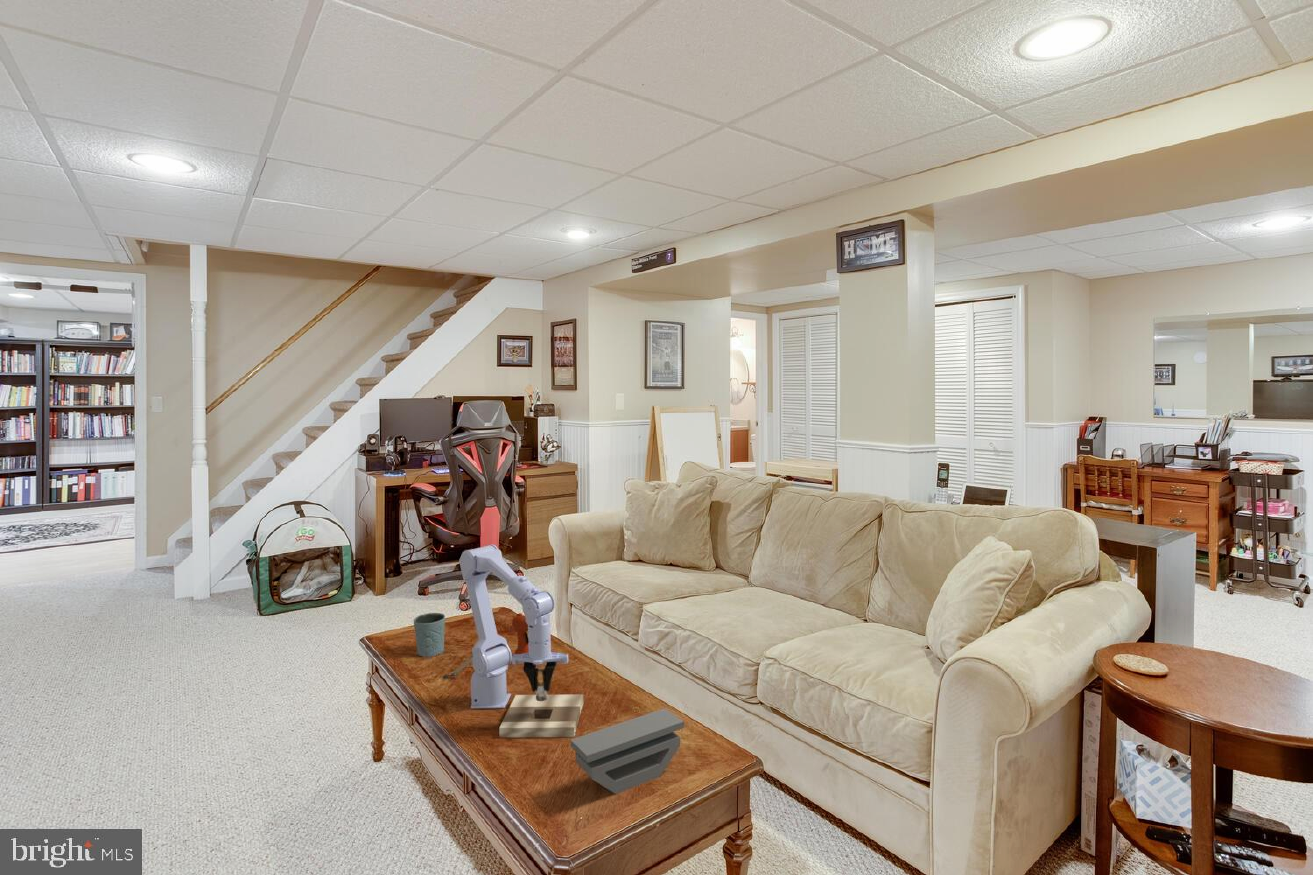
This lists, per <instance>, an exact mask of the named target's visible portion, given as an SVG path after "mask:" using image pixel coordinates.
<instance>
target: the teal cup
mask: <svg viewBox="0 0 1313 875" xmlns="http://www.w3.org/2000/svg"><path fill="white" fill-rule="evenodd" d="M445 623H446V615H445V614H443V613H440V612H430V613H423V614H419V615H418V616H416V617H415V618H414V619H413V627H414V632H415V633H414V635H415V642H416V654H417V656H418V655H419V657H420V656H423V657H422V658H432V656H433V657H436V655H437V656H439V655H438V654H440V655H442V654H443V653H444V651H445V626H446V624H445Z"/></svg>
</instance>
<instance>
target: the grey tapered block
mask: <svg viewBox="0 0 1313 875" xmlns="http://www.w3.org/2000/svg"><path fill="white" fill-rule="evenodd" d="M684 728H685V722H684V720H683V719H681V718H680V717H678V716H677V715H676V714H675V713H673V712H671V710H669V709H667V708H660V709H659V710H656V711H651V712H649V713H646V714H642V715H640V716H637V717H634V718H631V719H628V720H625V721H622V722H619V723H616V724H613V725H610V726H607V727H604V728H601V729H599V730H595V731H592V732H590V733H586V734H584V735H581V736H578V737H573V738H571V739H570V748H572V749H573V750H574V752H575V763H576V764H577V765H578V766H579V767H580V768H581V769H582V770H583V771H584V773H586V775H588V776H589V778H590V779H591V780H592V781H595V783H597V784H599V785H601V786H602V787H604V788H605V789H607V790H609V791H610V792H612V793H613V794H615V795H618V794H621V793H623V792H626V791H628V790H630V789H633V788H635V787H637V786H641V785H642V784H645V783H647V782H650V781H652V780H655V779H657V778H660V777H661V776H662V775H663V773H664V771H665V770H666V769H667V767H668V765H669V764H670V762H671V761H672V760H673V758H674V756H675V754H676V753H677V751H678V750H679V749H680V747H681V736H680V735H679V734H677V733H676V731H678V730H679V731H680V730H682V729H684Z"/></svg>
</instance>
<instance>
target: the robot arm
mask: <svg viewBox="0 0 1313 875" xmlns="http://www.w3.org/2000/svg"><path fill="white" fill-rule="evenodd" d="M458 561H459V565H460V566H459V567H460V570H461V574H462V579H463V581H465V584H466V585H465V586H466V591H467V594H468V599H469V602H470V603H469V604H470V607H471V612H472V616H473V620H474V626H475V629H476V634H477V638H478V639H477V642H476V643H475V644H474V645H473V647H472V648H471V653H472V656H473V661H471V662H472V667H473V670H474V672H473V673H472V676H471V679H470V680H471V681H470V697H471V698H470V699H471V700H470V701H471V706H470V708H471V709H505V708H506V706H507V704H508V702H509V700H510V698H511V696H512V693H508V692H507V690H508V689H507V687H508V686H507V685H508V684H507V670H508V669H509V665H510V664H511V665H517V664H523V668H522V669H523V672H524V673H525V675H526V677H527V679H528V680H529V685H530V686H531V691H532V692H536V684H535V668H537V665H541V664H545V666H544V667H545V674H546V691H547V692H550V690H551V682H552V678H553V676H554V675H553V674H554V671H555V668H556V666H557V664H563V665H568V663H569V653H561V652H554V651H553V652H552V642H551V641H552V640H551V637H552V636H551V613H552V612H553V611H554V608H555V599H554V598H553V596H552V594H551V593H550V592H549V591H547V590H543V589H538V587H537V586H535V585H534V584H533V583H532V582H531V581H530V580H529V579H528V578H527V577H526V576H525V575H518V574H516V572H515V571H514V570H513V569H512V568H511V567H510V566H509V565H508V564H507V562H506V561H505V560H504V559H503V553H502V551H501V550H500V549H499V548H498V547H497V546H496V545H495V544H489V545H485V546H481V547H477V548H473V549H468V550H463V551H462V553H461V556H460V558H459V560H458ZM491 573H492V574H493V575H494V576H495V577H497V578H498V579H499V580H500V581H502V582H503V583H504V584H506V585H507V586H508V588H507V592H508V593H509V594H510V595H511V596H512V597H513V598H514V599H515V600H516V601H517V602H518V603H519V604H520V605H521V608H522V613H523V615H524V616H525V617H526V622H527V624H528V631H527V636H528V641H529V645H528V646H529V653H524V654H515V653H514V654H513V653H512V651H511V648H510V647H509V645H508V642H507V639H506V638H505V637H503V636H501V635H500V634H498V631H497V627H496V623H495V616H494V614H493V609H492V608H493V607H492V603H491V601H490V596H489V591H488V587H487V584H486V583H487V582H486V579H487V578H488V576H489V575H490V574H491Z"/></svg>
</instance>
